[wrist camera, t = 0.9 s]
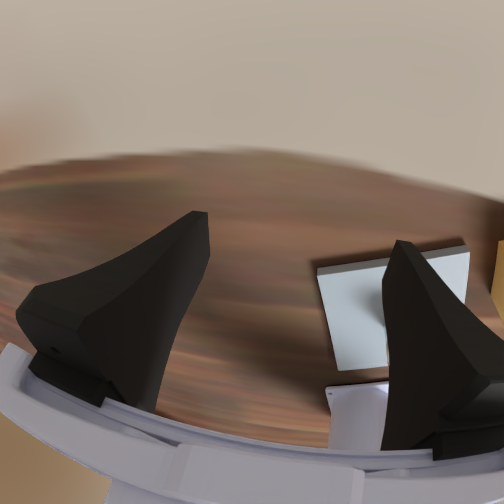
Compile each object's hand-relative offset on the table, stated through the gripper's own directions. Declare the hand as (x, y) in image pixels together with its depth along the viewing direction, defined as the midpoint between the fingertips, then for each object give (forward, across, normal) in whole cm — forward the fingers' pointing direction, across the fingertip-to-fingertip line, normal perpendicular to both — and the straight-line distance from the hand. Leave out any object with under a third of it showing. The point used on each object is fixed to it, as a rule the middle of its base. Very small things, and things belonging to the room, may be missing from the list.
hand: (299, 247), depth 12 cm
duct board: (+8, -10, +12) cm, 17 cm away
